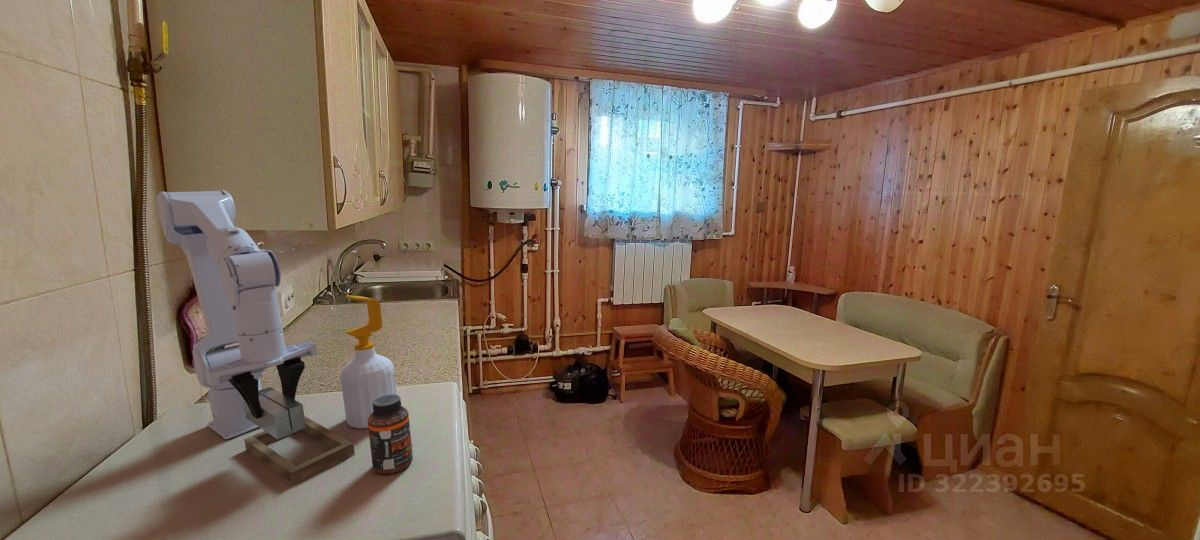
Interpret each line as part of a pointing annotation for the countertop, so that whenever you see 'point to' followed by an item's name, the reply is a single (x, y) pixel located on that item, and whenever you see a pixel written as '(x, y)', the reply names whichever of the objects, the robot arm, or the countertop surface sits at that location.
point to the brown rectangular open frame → (306, 469)
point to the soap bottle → (366, 371)
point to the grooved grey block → (277, 413)
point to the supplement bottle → (389, 435)
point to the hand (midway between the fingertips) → (273, 410)
